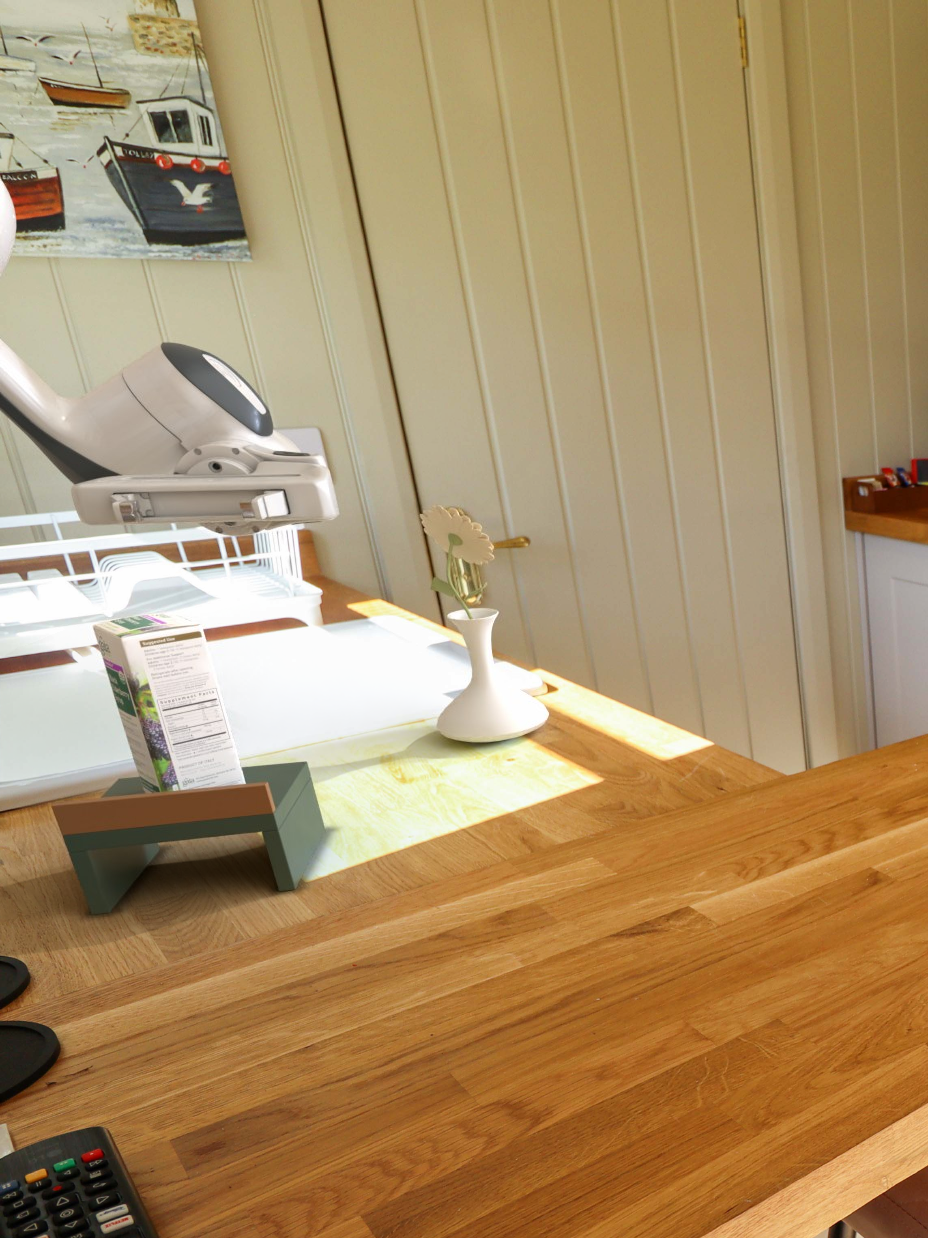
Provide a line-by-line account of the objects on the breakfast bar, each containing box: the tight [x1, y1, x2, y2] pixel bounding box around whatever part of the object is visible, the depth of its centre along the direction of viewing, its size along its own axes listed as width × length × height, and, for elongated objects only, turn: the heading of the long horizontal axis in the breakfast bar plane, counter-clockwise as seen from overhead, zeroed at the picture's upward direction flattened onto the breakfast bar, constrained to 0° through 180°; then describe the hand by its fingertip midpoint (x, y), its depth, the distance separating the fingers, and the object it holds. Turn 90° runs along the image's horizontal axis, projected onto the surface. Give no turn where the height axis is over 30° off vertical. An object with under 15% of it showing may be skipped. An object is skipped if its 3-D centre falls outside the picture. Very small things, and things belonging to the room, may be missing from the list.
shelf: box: [50, 760, 326, 916], centre depth 97 cm, size 14×12×10 cm
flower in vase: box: [419, 504, 549, 743], centre depth 126 cm, size 13×11×25 cm
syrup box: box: [92, 612, 246, 793], centre depth 94 cm, size 6×6×14 cm
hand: (188, 512), depth 103 cm, fingers open, 8 cm apart
